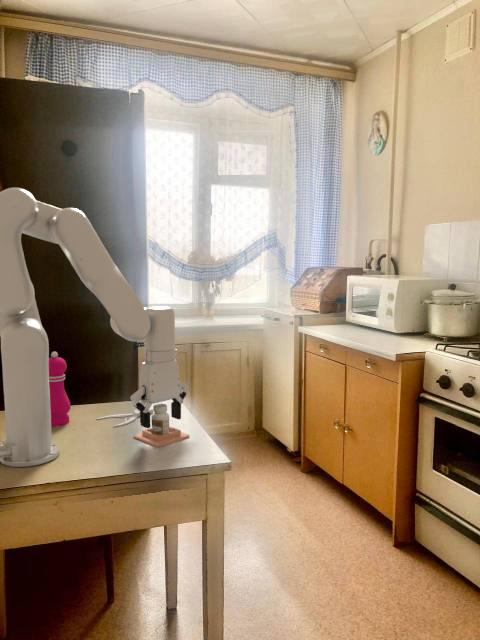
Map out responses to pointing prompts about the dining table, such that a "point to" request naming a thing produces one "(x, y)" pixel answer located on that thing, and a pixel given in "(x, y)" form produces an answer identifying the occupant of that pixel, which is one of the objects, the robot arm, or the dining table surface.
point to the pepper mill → (58, 391)
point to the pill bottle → (160, 419)
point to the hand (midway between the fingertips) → (161, 422)
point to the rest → (161, 437)
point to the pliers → (134, 416)
